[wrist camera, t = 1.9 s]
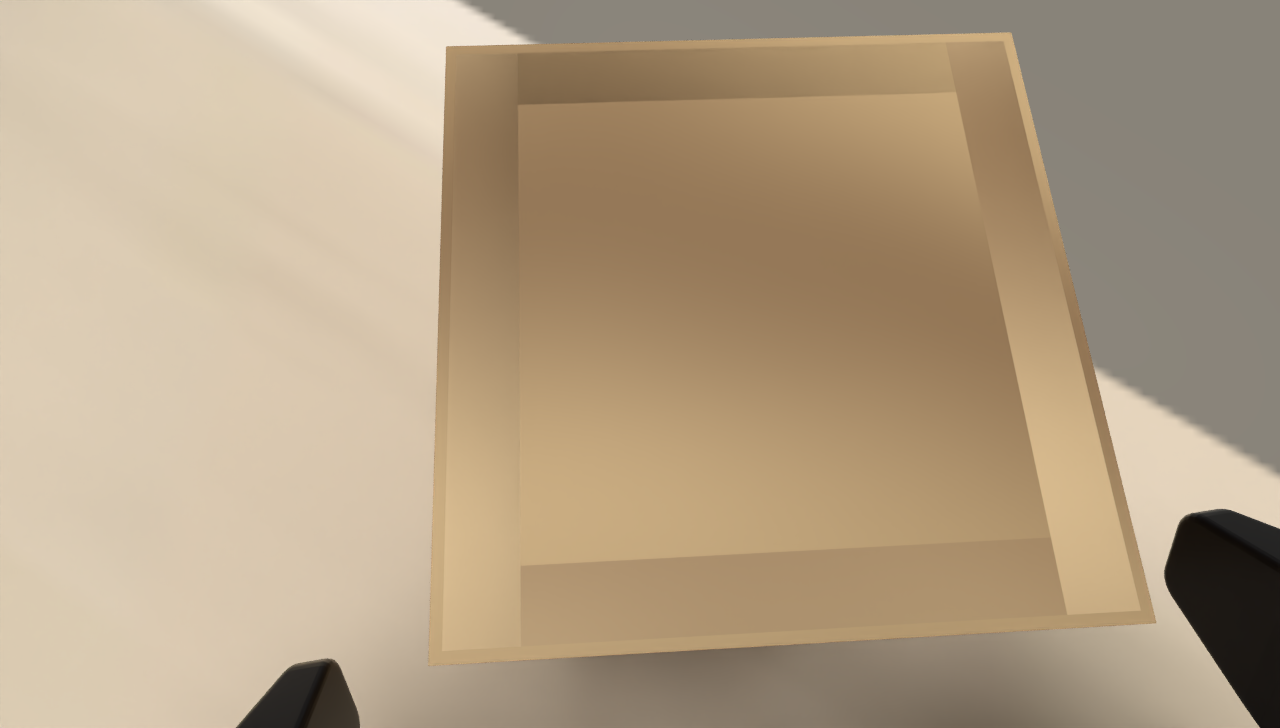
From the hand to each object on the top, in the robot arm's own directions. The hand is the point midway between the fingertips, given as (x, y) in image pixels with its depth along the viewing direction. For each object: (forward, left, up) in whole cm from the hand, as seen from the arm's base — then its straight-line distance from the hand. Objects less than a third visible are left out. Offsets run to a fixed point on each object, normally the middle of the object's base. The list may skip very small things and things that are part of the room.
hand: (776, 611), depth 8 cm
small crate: (+3, 0, -10) cm, 10 cm away
